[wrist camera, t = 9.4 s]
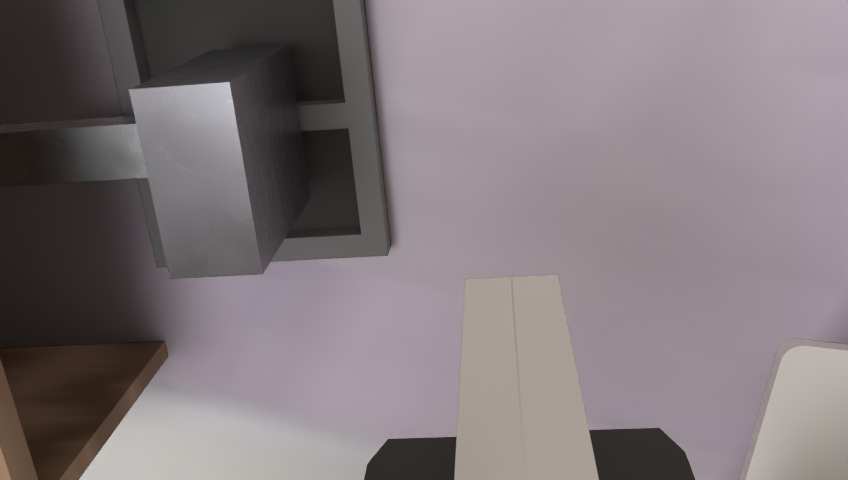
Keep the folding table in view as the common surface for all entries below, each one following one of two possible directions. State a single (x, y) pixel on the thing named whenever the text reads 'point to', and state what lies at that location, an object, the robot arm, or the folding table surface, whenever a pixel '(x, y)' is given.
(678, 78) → the folding table surface
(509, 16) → the folding table surface
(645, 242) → the folding table surface
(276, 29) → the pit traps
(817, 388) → the tablet stand
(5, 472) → the tunnel
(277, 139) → the dark grey block
